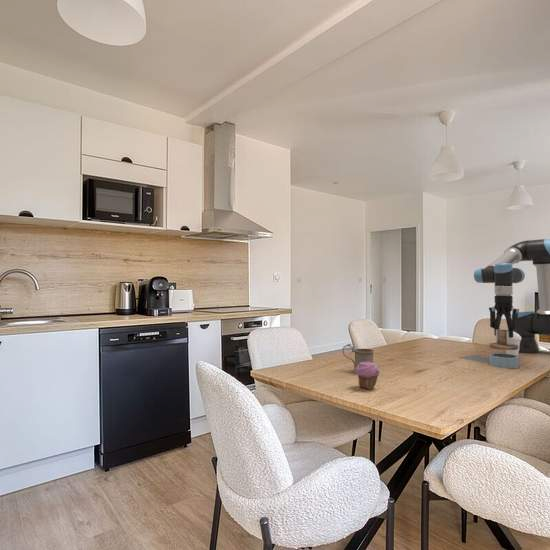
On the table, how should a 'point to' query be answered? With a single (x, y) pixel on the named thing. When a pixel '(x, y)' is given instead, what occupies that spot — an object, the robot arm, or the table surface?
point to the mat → (476, 358)
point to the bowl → (504, 360)
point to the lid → (503, 342)
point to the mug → (360, 356)
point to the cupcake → (367, 374)
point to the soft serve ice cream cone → (516, 341)
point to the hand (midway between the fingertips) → (503, 343)
